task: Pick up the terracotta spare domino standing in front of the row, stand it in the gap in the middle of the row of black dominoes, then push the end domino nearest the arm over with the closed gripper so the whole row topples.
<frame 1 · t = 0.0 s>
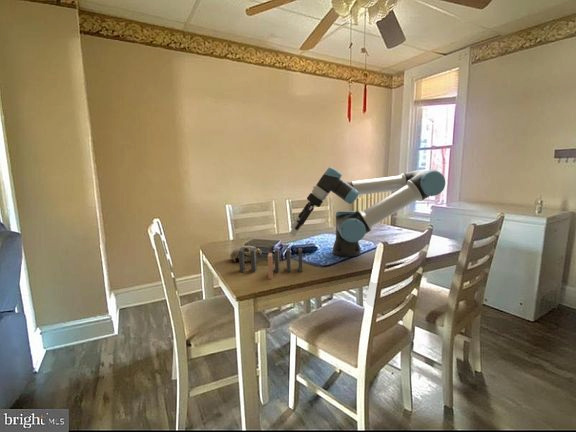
hand: (292, 231, 152), 15 cm above the table, tool tilted 35°, fingers open, 13 cm apart
skull: (246, 261, 157), on the table
domino 3: (277, 270, 142), on the table
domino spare: (270, 276, 134), on the table
domino 5: (242, 270, 143), on the table
domino 2: (288, 270, 142), on the table
domino 1: (300, 270, 141), on the table
domino 4: (254, 270, 142), on the table
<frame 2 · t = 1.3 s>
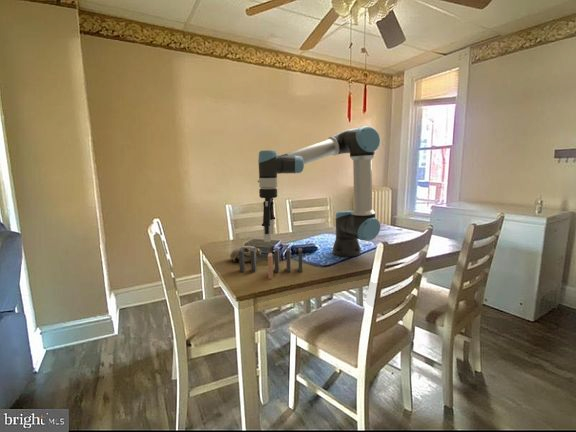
hand: (269, 237, 132), 17 cm above the table, tool pointing down, fingers open, 13 cm apart
nothing on the table moved.
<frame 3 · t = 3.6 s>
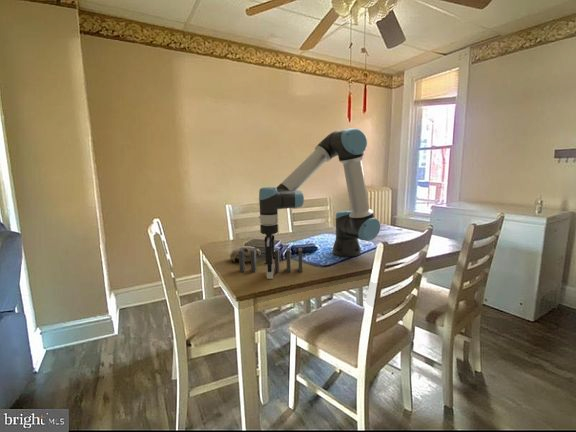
hand: (270, 275, 134), 0 cm above the table, tool pointing down, fingers closed on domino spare, 5 cm apart
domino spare: (270, 276, 134), on the table, touching gripper
when the fingers open (2 cm above the table, at t = 7.2 s): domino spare drops 1 cm, on the table.
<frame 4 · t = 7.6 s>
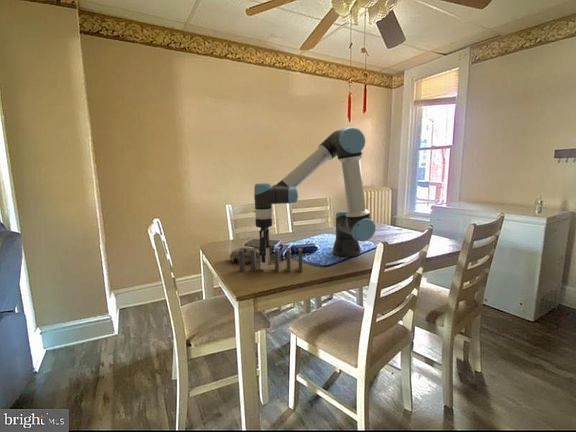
hand: (265, 265, 142), 3 cm above the table, tool pointing down, fingers open, 10 cm apart
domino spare: (265, 270, 142), on the table
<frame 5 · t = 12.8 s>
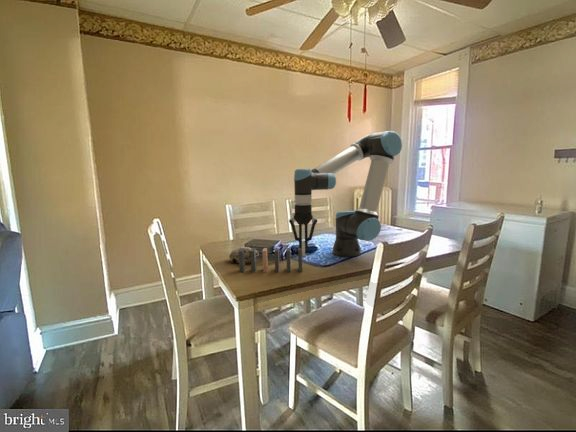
hand: (303, 255, 140), 7 cm above the table, tool pointing down, fingers closed
domino 1: (300, 270, 141), on the table, touching gripper
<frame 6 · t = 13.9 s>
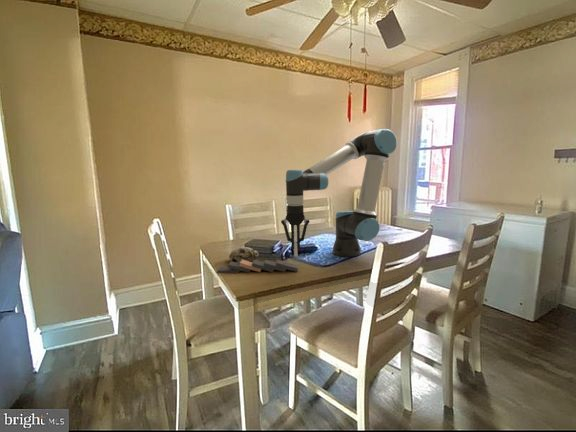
hand: (295, 255, 140), 7 cm above the table, tool pointing down, fingers closed
domino 3: (273, 268, 142), point 1 cm above the table, tilted 73°, touching domino 2, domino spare
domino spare: (261, 268, 142), point 1 cm above the table, tilted 72°, touching domino 3, domino 4
domino 5: (240, 270, 143), on the table, tilted 90°
domino 2: (285, 268, 142), point 1 cm above the table, tilted 73°, touching domino 1, domino 3
domino 1: (297, 268, 141), point 1 cm above the table, tilted 73°, touching domino 2
domino 4: (250, 268, 142), point 1 cm above the table, tilted 77°, touching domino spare
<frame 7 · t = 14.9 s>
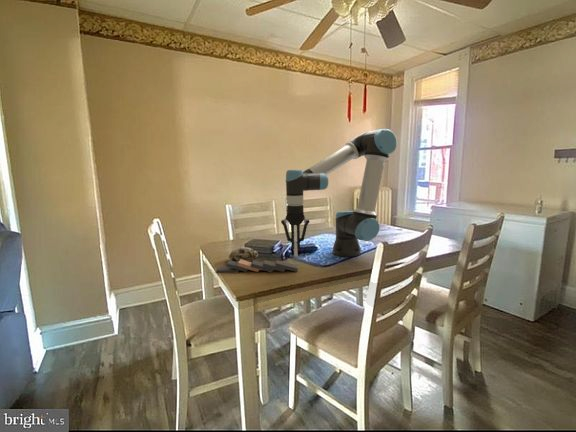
hand: (295, 255, 140), 7 cm above the table, tool pointing down, fingers closed
domino 4: (248, 268, 143), point 1 cm above the table, tilted 75°, touching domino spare
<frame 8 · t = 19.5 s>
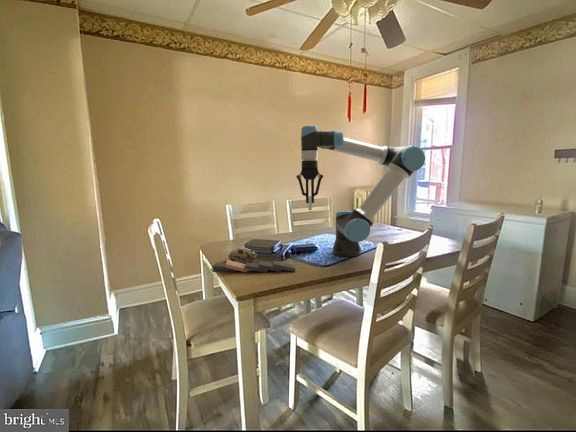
hand: (310, 209, 148), 26 cm above the table, tool pointing down, fingers closed
domino 3: (266, 269, 142), point 1 cm above the table, tilted 77°, touching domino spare
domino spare: (247, 268, 142), point 1 cm above the table, tilted 71°, touching domino 3, domino 4
domino 5: (235, 269, 144), on the table, tilted 90°, touching domino 4
domino 2: (280, 268, 142), point 1 cm above the table, tilted 75°
domino 1: (294, 268, 142), point 1 cm above the table, tilted 76°
domino 4: (234, 266, 143), point 2 cm above the table, tilted 90°, touching domino 5, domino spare
at the end: domino 5 tilted 90°; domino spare inside the target area (6.2 cm from its centre), point 1.0 cm above the table; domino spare tilted 69° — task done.
